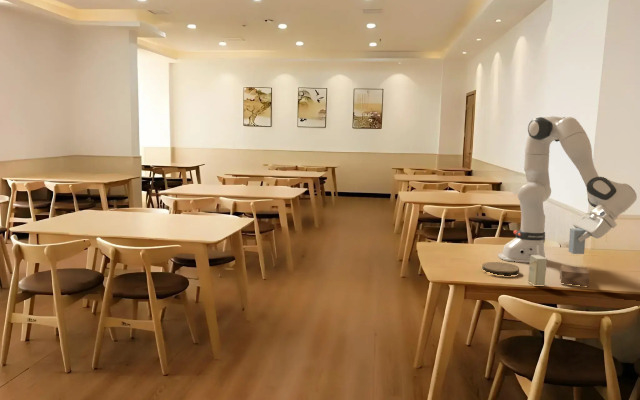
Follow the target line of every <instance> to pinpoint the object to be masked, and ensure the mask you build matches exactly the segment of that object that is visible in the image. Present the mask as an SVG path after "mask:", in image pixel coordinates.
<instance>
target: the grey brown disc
mask: <svg viewBox="0 0 640 400" xmlns="http://www.w3.org/2000/svg"><path fill="white" fill-rule="evenodd" d="M481 268H482V269H483V270H485V271H486V272H490V273H493V274H497V275H504V276H511V275H517V274H519V275H520V267H519V266H517V265H516V264H512V263H507V262H500V261H489V262H484V263H483V264H482V267H481ZM482 269H481V270H482Z"/></svg>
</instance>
